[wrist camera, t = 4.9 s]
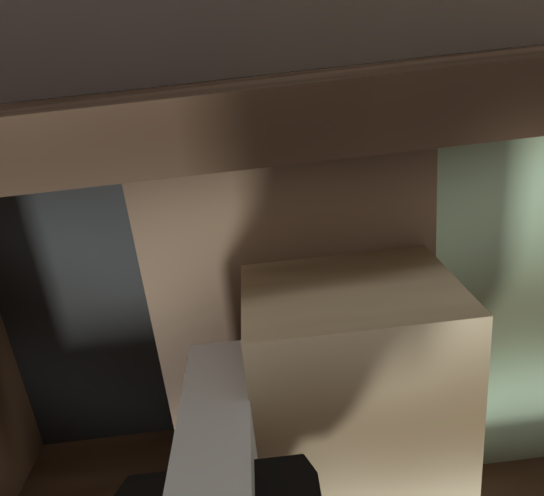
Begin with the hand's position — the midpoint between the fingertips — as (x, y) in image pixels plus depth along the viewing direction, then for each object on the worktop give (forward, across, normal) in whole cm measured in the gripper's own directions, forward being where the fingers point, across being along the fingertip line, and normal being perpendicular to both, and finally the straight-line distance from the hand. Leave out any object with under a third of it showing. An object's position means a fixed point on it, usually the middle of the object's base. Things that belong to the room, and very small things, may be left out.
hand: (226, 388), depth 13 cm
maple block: (+2, +3, 0) cm, 4 cm away
